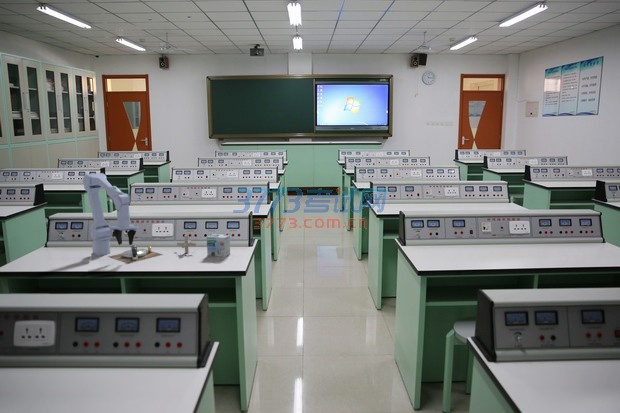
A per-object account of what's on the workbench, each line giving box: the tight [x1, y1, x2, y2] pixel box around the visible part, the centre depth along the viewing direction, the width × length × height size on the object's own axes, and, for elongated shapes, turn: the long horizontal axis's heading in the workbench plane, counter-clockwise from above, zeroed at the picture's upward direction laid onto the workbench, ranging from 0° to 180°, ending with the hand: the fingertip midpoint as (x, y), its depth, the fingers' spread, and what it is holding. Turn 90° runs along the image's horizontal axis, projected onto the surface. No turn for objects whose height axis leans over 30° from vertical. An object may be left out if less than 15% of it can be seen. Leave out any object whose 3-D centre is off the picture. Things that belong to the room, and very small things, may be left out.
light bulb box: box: [206, 233, 231, 258], centre depth 238 cm, size 11×7×11 cm, turn 76°
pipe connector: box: [176, 234, 197, 254], centre depth 242 cm, size 10×10×10 cm
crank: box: [121, 247, 147, 260], centre depth 232 cm, size 16×12×6 cm
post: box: [130, 244, 138, 251], centre depth 233 cm, size 3×3×3 cm
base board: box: [108, 248, 164, 265], centre depth 234 cm, size 20×20×1 cm
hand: (125, 244), depth 224 cm, fingers open, 5 cm apart
